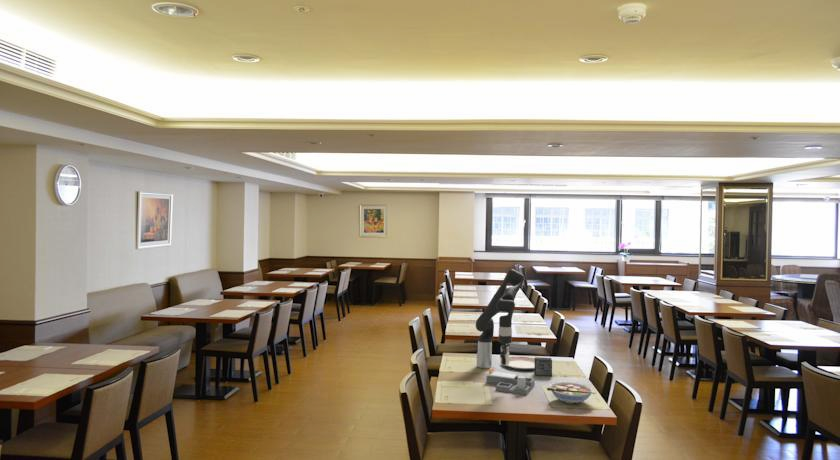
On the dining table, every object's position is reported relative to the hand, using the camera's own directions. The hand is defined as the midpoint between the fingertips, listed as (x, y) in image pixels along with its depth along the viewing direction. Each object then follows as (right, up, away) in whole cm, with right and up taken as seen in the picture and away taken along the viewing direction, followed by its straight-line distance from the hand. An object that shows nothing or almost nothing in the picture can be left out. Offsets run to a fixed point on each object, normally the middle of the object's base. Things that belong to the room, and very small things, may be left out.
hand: (504, 363), depth 312 cm
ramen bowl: (+33, -16, -19) cm, 41 cm away
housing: (+3, -15, +6) cm, 16 cm away
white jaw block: (0, -1, 0) cm, 1 cm away
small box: (+30, -15, +32) cm, 46 cm away
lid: (+1, -11, +13) cm, 17 cm away
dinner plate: (+20, -15, +52) cm, 57 cm away
